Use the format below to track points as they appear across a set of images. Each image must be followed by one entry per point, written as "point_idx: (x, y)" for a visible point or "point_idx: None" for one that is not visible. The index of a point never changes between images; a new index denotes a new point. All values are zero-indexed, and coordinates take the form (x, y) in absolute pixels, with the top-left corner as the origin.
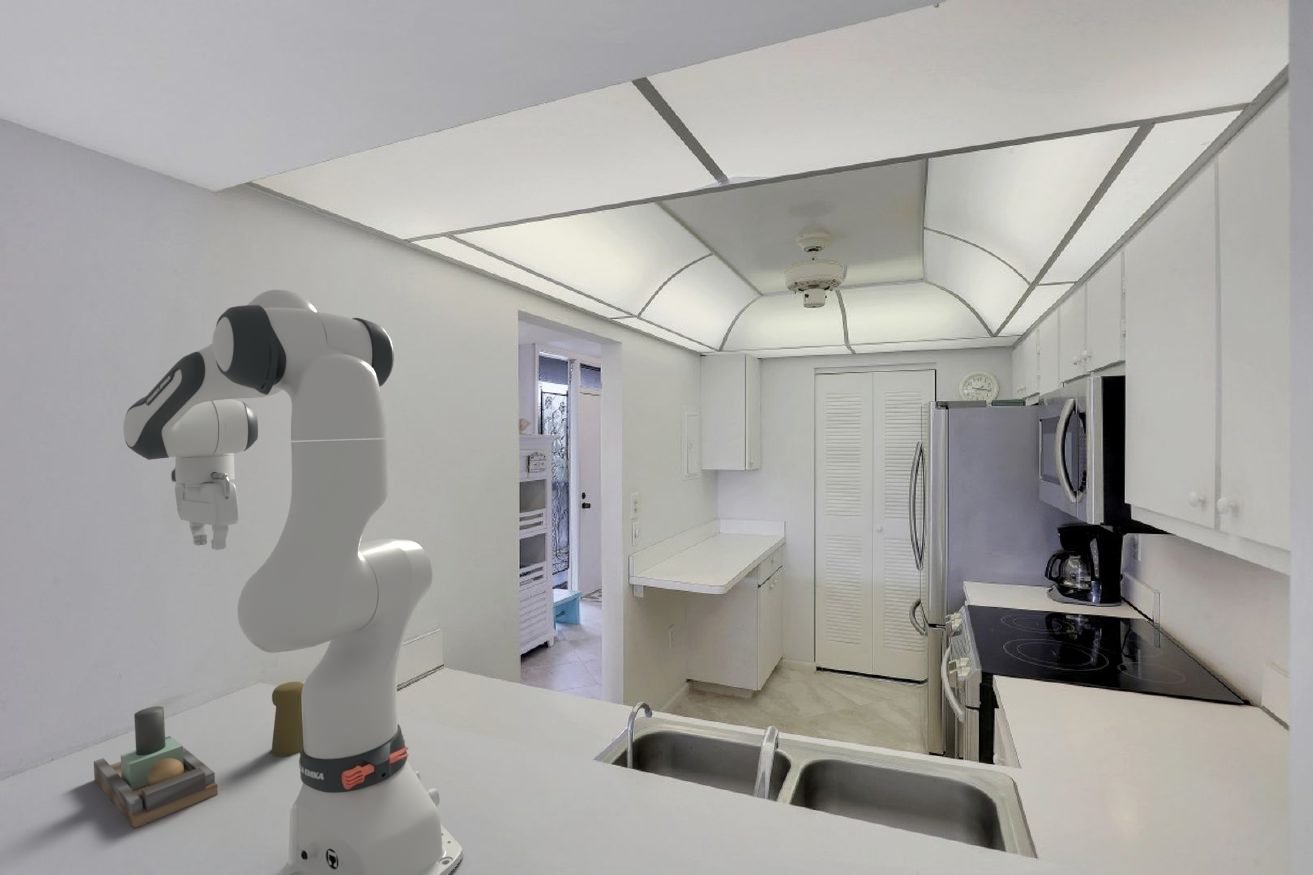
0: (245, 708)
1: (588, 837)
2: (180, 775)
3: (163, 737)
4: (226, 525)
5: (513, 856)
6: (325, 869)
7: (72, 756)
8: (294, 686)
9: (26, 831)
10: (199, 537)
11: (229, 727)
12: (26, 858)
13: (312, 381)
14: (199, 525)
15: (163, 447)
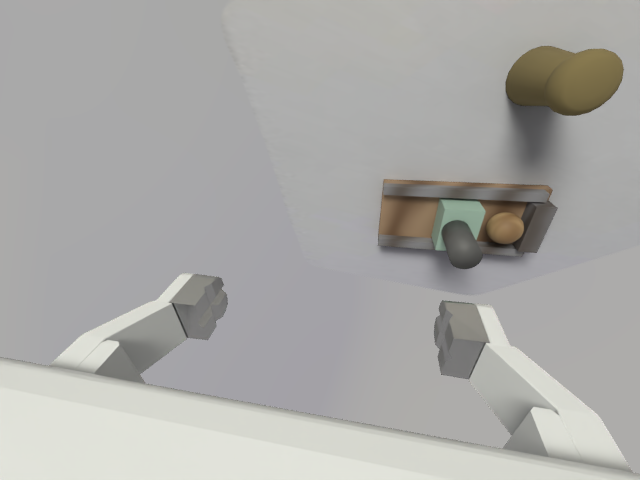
0: (319, 65)
1: None
2: (532, 224)
3: (469, 229)
4: (616, 465)
5: None
6: None
7: (300, 231)
8: (614, 81)
9: (428, 282)
10: (207, 323)
11: (371, 108)
12: (475, 291)
13: None
14: (132, 364)
15: None
